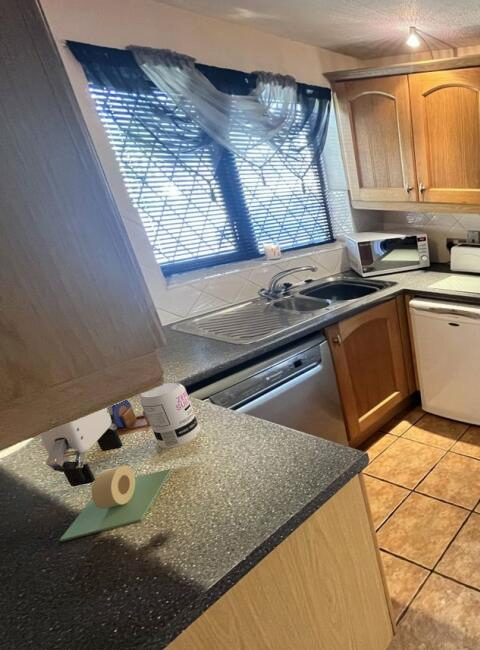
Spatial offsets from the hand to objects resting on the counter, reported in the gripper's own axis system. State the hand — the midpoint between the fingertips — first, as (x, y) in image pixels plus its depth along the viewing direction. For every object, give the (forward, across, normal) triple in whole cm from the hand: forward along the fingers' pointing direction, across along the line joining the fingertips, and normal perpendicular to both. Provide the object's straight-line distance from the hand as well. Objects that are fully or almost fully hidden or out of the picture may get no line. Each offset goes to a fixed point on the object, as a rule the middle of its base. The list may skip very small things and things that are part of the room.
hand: (99, 465), depth 75 cm
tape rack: (+10, -30, -9) cm, 33 cm away
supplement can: (+10, -19, +5) cm, 22 cm away
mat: (+10, 0, +1) cm, 10 cm away
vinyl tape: (+9, -30, -11) cm, 33 cm away
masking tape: (+9, 0, +1) cm, 9 cm away
